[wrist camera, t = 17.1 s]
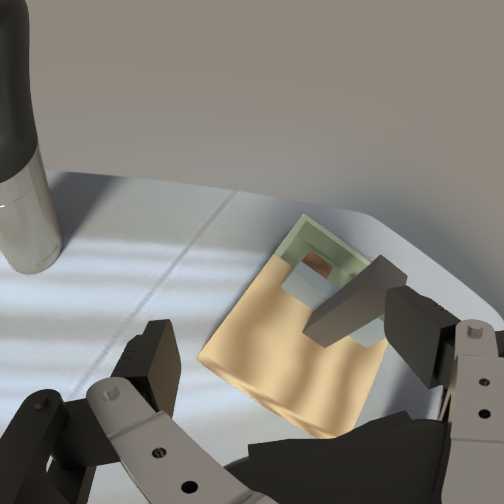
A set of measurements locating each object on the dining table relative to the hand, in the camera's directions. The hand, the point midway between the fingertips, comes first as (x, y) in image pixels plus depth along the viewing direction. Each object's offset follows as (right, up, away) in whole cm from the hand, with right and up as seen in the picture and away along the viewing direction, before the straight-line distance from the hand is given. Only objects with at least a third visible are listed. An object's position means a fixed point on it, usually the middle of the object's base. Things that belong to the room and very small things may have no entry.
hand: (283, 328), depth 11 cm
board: (+4, -11, +30) cm, 32 cm away
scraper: (+7, -7, +27) cm, 29 cm away
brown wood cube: (+6, -2, +33) cm, 34 cm away
